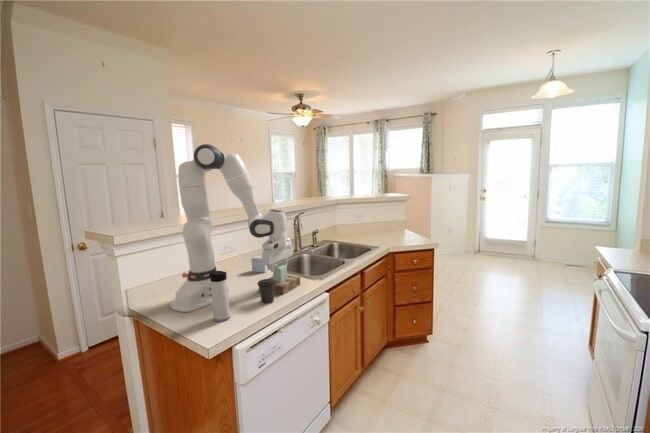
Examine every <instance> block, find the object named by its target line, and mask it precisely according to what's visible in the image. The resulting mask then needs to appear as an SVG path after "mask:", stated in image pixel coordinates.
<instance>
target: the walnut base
mask: <svg viewBox="0 0 650 433" xmlns="http://www.w3.org/2000/svg"><path fill="white" fill-rule="evenodd" d="M267 279H273V275H272V276H270V277H269V278H267ZM275 282H276V283H275V285H274V294H278V295H282V296H283V295H285V294H287V293H289V292H291V291H292V290H294V289H296V288H298V287H299V286H301V277H299V276H295V275H288V274H287V279H286V280H285V281H283V282H278V281H275Z"/></svg>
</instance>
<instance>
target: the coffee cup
mask: <svg viewBox="0 0 650 433" xmlns="http://www.w3.org/2000/svg"><path fill="white" fill-rule="evenodd" d="M275 283H276V282H275V280H273V279H268V278H265V279H261V280H259V281H258V282H257V286H258V288H259V295H260V300H261V303H262V304H263V305H268V304H270V305H271V304H273V303H274V300H275V293H274V285H275Z"/></svg>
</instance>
